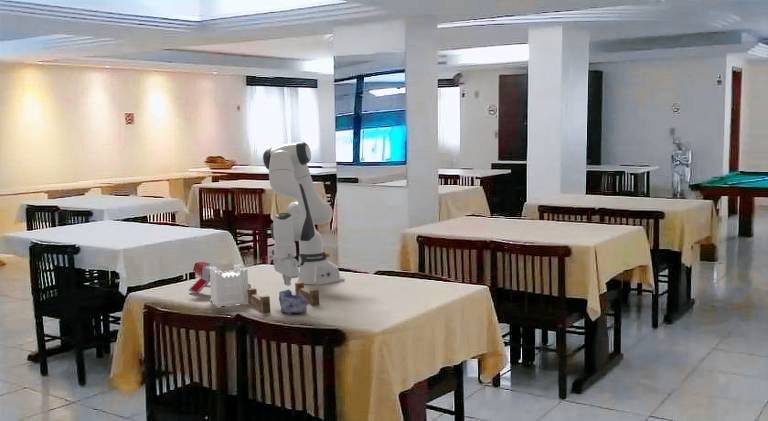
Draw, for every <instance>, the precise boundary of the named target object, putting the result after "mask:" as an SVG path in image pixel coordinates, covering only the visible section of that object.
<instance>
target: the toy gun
mask: <svg viewBox="0 0 768 421" xmlns="http://www.w3.org/2000/svg"><path fill="white" fill-rule="evenodd" d="M210 267H212V268H213V267H214V266H213V265H211V263H210V262H209V263H208V262H204V261H199V262H195V263H194V266H193V269H192V272H194V274H196V275H198V276H199V277H200V278H199V279H198V280H197V281H195V283H194V284H193V285H192V286H190V288H189V289H188V291H189V292H191V293H193V294H195V295H197V294H199V293H200V292H201V291H202V290H203V289H204V288H210V289H211V284H210ZM216 268H217V272H218V271H221V272H223V273H224V270H221V269H220V268H218V267H216ZM251 288H252V284H250V283H248V289H251ZM196 293H197V294H196Z"/></svg>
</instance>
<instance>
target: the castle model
mask: <svg viewBox="0 0 768 421" xmlns="http://www.w3.org/2000/svg"><path fill="white" fill-rule="evenodd" d="M217 268H218V267H216V266H213V268H212V267H210V282H209V284H210V285H211V288H210V302H211V301H212V302H213V303H214V304H215V305H216V306H217V307H218V308H222V307H221V306H226V307H230V306H229V305H235V306H237V305H236V304H243V305H249V304H248V284H249V277H248V276H249V275H248V269H247V268H243V267H242V264H233V270H228V271H227V270H225V271H224V270H223V271H224V273H223V272H221V271H218V272H217ZM212 302H211V303H212ZM213 303H212V304H213ZM214 304H213V305H214ZM215 305H214V306H215ZM216 306H215V307H216ZM217 307H216V308H217Z"/></svg>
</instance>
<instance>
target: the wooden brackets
mask: <svg viewBox="0 0 768 421" xmlns="http://www.w3.org/2000/svg"><path fill="white" fill-rule="evenodd" d="M294 286H295V288H294V290H295V295H300V296H301V297H303V298H304V299H305V300H307V304H309V305H310V306H312V307H314V306H315V307H316V306H320V302H321V301H320V289H318V288H314V289H308V288H305V284H304V283H303V282H299V283H298V282H295V283H294ZM257 291H258V290H257V288H256V287H253V288H252V287H251V288H250V289H248V304H247V305H249V304H251V305H250V306H252V305H253V306H252V307H253V308H255V307H256V308H255V309H257V310H258V311H260V313H262V314H265V313H271V298H270V296H269V294H267V295H259V294H258V292H257Z"/></svg>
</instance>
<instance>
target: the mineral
mask: <svg viewBox="0 0 768 421" xmlns="http://www.w3.org/2000/svg"><path fill="white" fill-rule="evenodd" d="M278 294H279V298H278V300H279V305H280V312H281V313H285V314H288V315H292V314H294V313H295V314H299V313H307V311H308V303H307V300H305V299H304V298H303V297H301V296H300V295H296V294H293V293H292V291H291V290H290V289H285V290H281V291H279V292H278Z"/></svg>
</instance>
